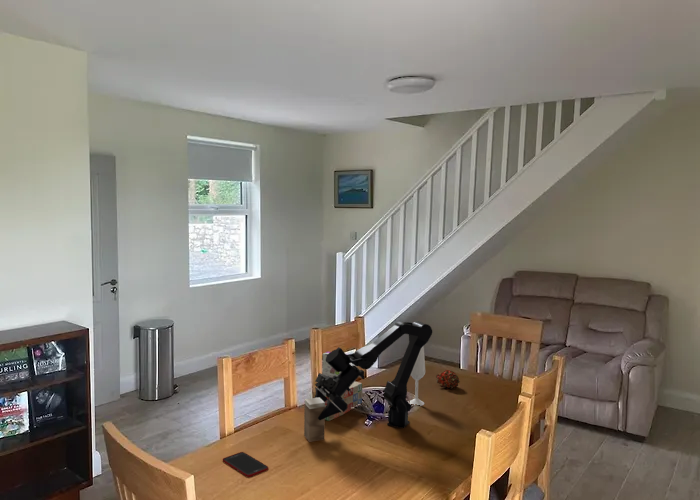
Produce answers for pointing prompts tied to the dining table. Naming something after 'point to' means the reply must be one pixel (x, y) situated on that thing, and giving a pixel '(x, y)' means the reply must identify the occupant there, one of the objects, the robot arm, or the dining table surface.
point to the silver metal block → (314, 419)
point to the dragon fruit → (448, 379)
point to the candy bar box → (328, 367)
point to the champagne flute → (418, 375)
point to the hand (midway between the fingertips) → (314, 414)
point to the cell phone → (245, 464)
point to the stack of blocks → (349, 399)
